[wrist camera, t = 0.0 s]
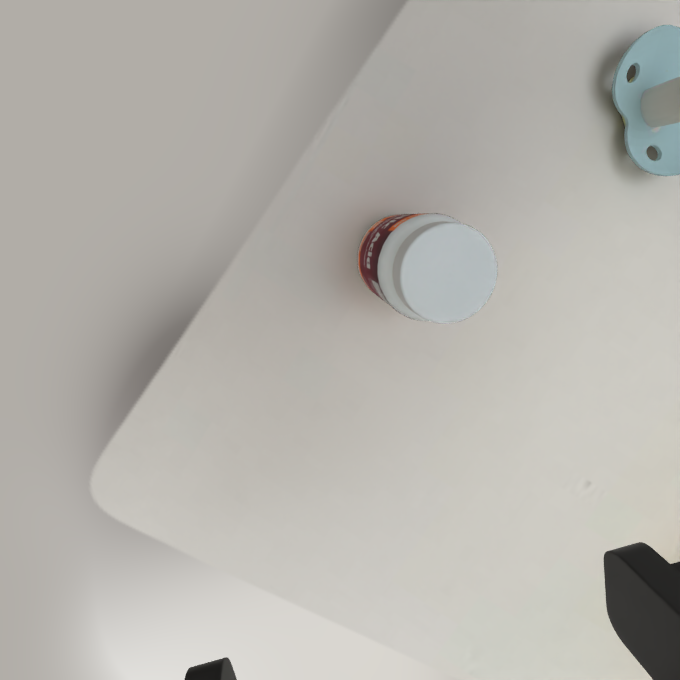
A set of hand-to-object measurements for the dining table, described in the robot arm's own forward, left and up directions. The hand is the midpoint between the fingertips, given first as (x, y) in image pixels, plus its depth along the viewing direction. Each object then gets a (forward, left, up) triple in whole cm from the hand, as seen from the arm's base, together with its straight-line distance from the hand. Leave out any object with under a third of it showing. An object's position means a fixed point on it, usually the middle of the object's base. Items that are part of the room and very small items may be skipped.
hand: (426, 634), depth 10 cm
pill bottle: (-5, +5, -19) cm, 20 cm away
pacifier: (-11, +21, -19) cm, 30 cm away
